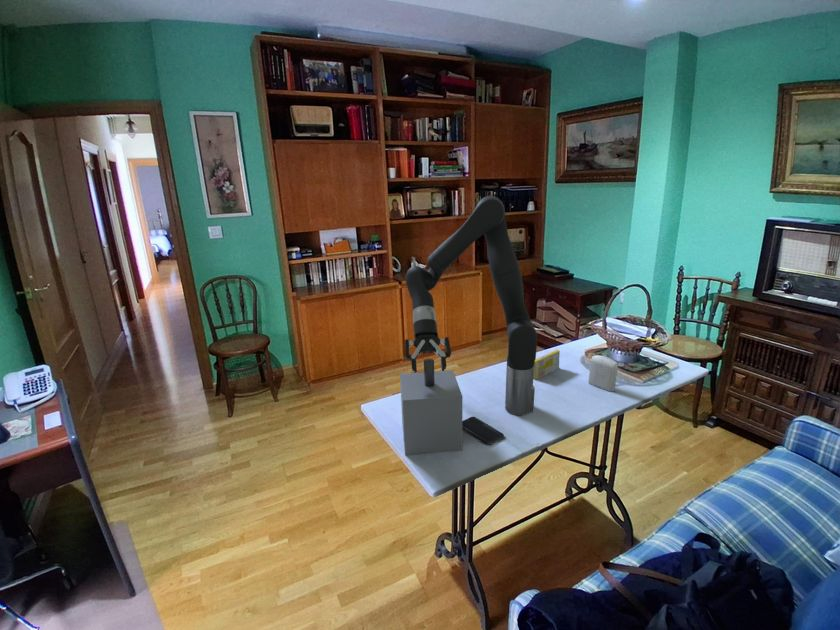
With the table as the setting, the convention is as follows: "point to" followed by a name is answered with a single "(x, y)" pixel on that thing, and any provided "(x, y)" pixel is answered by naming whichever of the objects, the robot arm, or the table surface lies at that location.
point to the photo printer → (603, 372)
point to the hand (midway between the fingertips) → (429, 371)
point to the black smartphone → (481, 431)
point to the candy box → (546, 364)
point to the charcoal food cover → (431, 411)
